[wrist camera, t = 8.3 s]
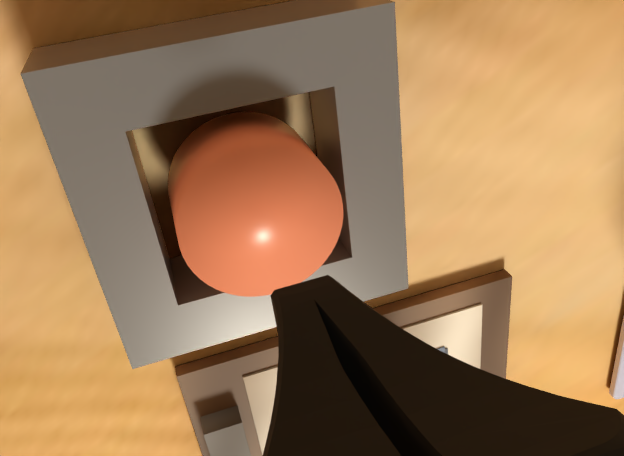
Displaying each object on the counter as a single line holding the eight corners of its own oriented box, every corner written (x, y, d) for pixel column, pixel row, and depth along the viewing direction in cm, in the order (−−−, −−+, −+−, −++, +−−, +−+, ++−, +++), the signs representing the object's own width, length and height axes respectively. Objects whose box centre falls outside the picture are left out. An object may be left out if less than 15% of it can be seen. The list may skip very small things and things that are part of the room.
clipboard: (504, 269, 27) (525, 288, 25) (494, 456, 33) (510, 480, 32) (175, 366, 24) (179, 394, 23) (235, 550, 31) (241, 580, 29)
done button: (304, 97, 19) (334, 128, 16) (321, 227, 21) (350, 272, 18) (150, 130, 18) (157, 168, 15) (187, 263, 20) (198, 315, 18)
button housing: (356, -12, 19) (394, 2, 17) (377, 248, 24) (408, 288, 22) (33, 48, 17) (20, 73, 15) (129, 316, 22) (132, 369, 20)
